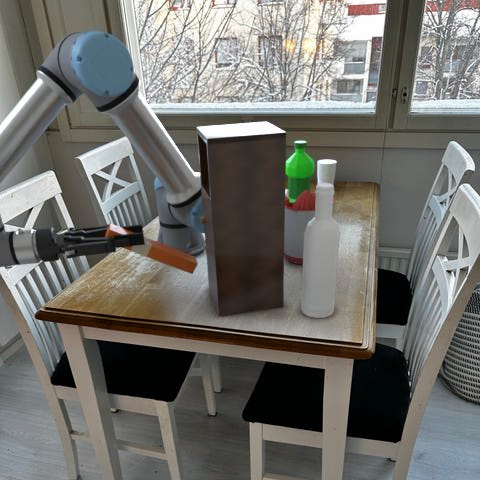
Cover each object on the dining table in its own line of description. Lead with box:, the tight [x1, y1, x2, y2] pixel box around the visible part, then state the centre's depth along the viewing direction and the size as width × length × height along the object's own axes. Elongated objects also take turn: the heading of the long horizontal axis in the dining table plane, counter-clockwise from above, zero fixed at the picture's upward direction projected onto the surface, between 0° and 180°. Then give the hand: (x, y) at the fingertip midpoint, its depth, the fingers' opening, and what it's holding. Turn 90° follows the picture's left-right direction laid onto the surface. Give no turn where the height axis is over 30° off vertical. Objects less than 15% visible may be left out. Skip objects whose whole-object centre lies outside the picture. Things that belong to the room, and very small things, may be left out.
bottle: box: [300, 183, 341, 319], centre depth 104 cm, size 8×8×30 cm
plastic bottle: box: [286, 140, 316, 203], centre depth 164 cm, size 10×10×25 cm
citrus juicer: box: [284, 190, 336, 265], centre depth 133 cm, size 16×17×20 cm
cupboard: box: [196, 121, 287, 317], centre depth 107 cm, size 17×14×40 cm
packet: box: [105, 222, 198, 275], centre depth 111 cm, size 22×5×3 cm, turn 103°
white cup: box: [316, 158, 338, 186], centre depth 197 cm, size 8×8×10 cm
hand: (143, 234), depth 108 cm, fingers closed on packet, 5 cm apart
